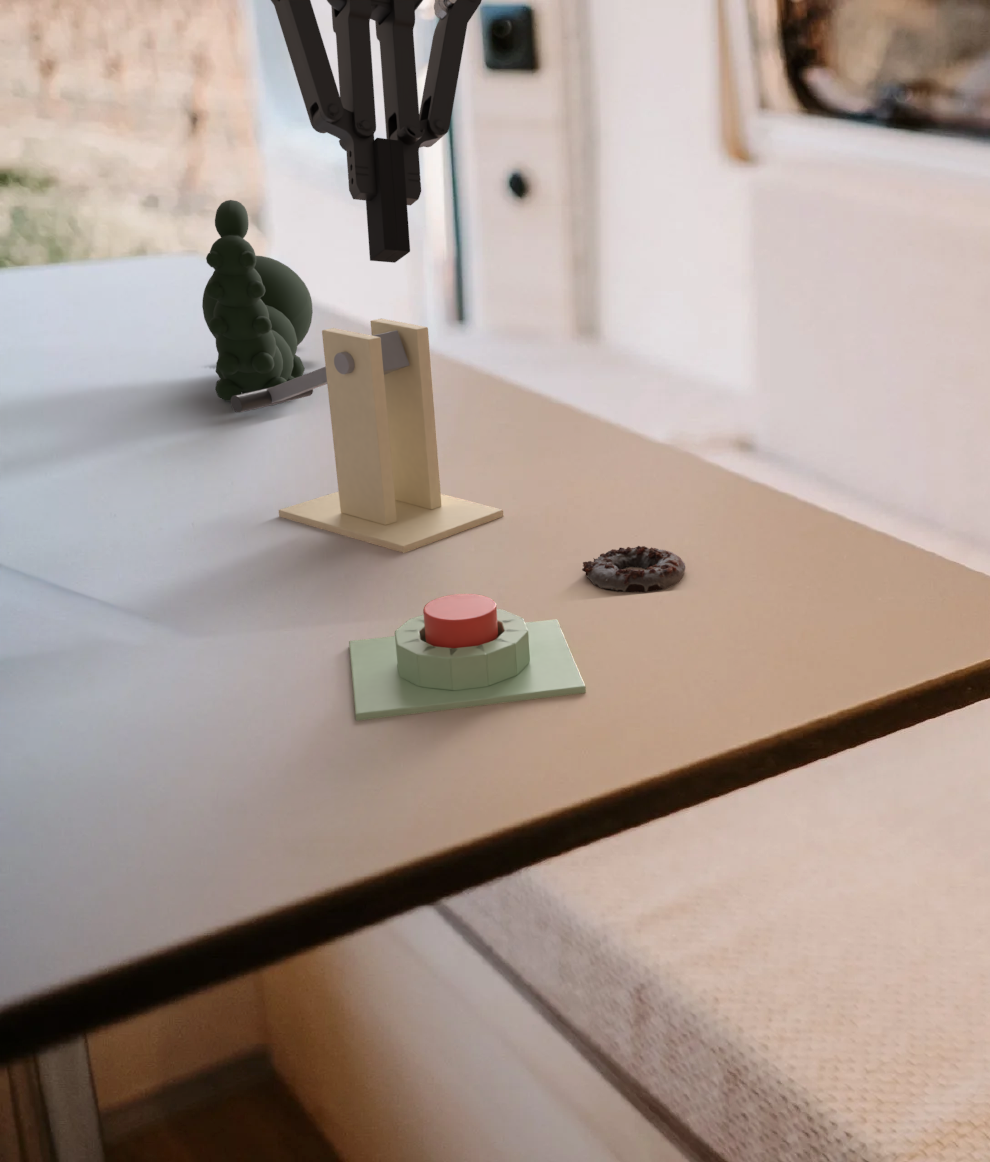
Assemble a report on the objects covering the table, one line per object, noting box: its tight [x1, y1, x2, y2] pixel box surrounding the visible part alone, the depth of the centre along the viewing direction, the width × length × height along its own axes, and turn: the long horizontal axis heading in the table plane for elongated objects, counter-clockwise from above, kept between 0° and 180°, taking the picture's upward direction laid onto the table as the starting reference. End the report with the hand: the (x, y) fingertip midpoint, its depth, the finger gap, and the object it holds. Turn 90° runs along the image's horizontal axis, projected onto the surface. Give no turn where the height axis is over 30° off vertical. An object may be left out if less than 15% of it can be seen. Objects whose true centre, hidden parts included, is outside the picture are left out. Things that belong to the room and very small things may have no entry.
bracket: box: [278, 318, 504, 554], centre depth 98 cm, size 12×9×14 cm
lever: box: [230, 330, 409, 414], centre depth 99 cm, size 14×6×2 cm, turn 59°
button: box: [422, 593, 498, 648], centre depth 75 cm, size 4×4×2 cm
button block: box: [348, 608, 587, 722], centre depth 76 cm, size 11×9×4 cm
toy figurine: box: [201, 199, 314, 402], centre depth 130 cm, size 9×19×25 cm
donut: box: [581, 545, 686, 593], centre depth 91 cm, size 8×8×2 cm
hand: (389, 255), depth 86 cm, fingers closed
